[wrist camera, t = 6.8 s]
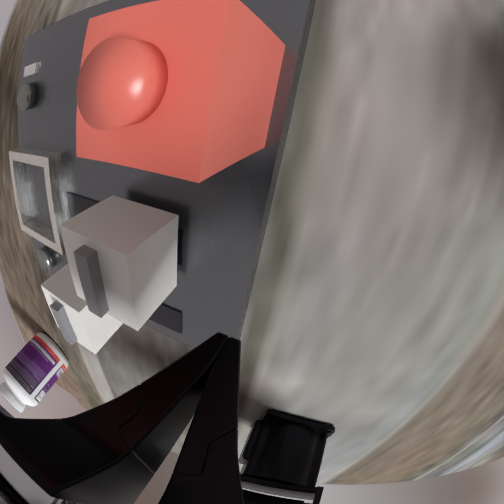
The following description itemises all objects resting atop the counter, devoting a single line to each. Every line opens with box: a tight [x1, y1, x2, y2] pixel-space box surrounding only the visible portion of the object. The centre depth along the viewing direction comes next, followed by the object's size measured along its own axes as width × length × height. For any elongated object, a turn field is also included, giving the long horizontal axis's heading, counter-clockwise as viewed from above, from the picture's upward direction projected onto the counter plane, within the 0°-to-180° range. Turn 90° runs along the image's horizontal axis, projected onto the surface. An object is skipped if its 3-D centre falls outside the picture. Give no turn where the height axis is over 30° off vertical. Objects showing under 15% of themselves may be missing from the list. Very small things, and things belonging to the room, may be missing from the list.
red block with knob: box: [76, 0, 286, 183], centre depth 6 cm, size 4×4×6 cm
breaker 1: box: [60, 195, 179, 331], centre depth 11 cm, size 4×4×4 cm
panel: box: [9, 0, 315, 348], centre depth 13 cm, size 20×20×2 cm
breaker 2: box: [41, 264, 123, 354], centre depth 15 cm, size 4×4×4 cm
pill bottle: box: [0, 332, 68, 413], centre depth 30 cm, size 8×8×14 cm
